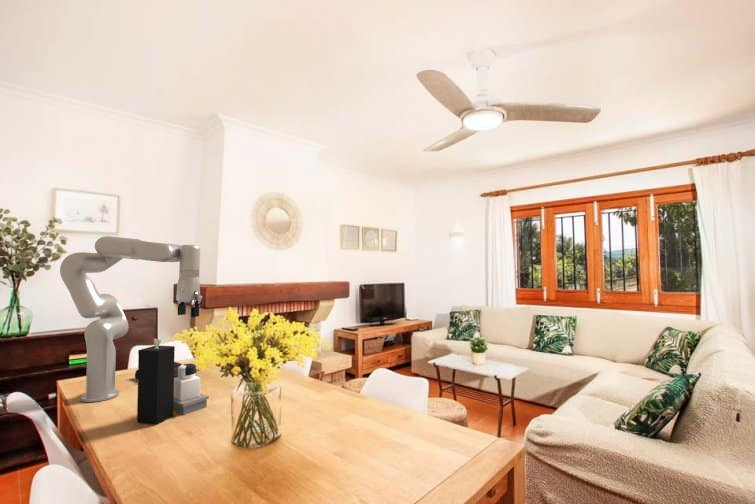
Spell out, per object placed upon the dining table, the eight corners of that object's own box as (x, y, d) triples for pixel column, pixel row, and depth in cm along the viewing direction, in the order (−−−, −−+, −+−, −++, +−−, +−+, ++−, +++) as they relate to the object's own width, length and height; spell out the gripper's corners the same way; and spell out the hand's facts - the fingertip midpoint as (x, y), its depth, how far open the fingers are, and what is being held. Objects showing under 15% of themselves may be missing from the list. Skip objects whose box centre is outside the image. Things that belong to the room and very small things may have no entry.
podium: (164, 408, 140) (164, 398, 140) (190, 400, 148) (190, 390, 148) (183, 415, 133) (183, 404, 133) (208, 406, 142) (208, 396, 142)
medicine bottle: (192, 392, 146) (193, 361, 146) (200, 396, 141) (200, 364, 142) (172, 397, 141) (173, 365, 141) (180, 401, 136) (180, 368, 136)
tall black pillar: (156, 425, 125) (158, 341, 126) (136, 423, 127) (138, 340, 128) (173, 416, 133) (175, 337, 134) (154, 414, 135) (156, 336, 136)
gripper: (169, 274, 157) (167, 315, 156) (192, 275, 148) (191, 318, 147) (186, 273, 163) (185, 313, 163) (210, 274, 154) (208, 316, 153)
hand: (188, 315), depth 155 cm, fingers open, 9 cm apart
